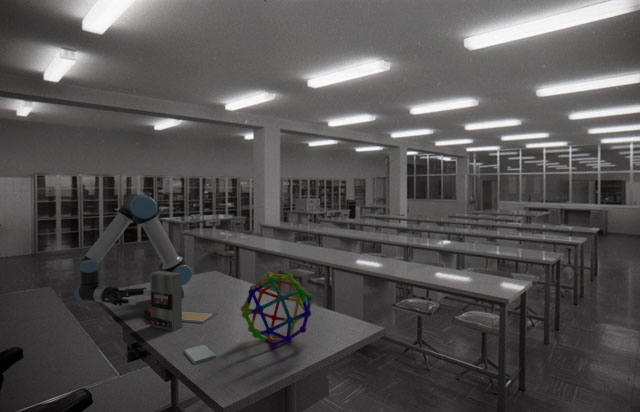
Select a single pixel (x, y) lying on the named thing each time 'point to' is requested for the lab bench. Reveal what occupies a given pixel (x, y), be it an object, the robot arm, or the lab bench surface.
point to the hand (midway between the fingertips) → (146, 297)
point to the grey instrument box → (166, 300)
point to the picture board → (196, 316)
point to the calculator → (147, 313)
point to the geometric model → (289, 320)
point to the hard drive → (199, 354)
